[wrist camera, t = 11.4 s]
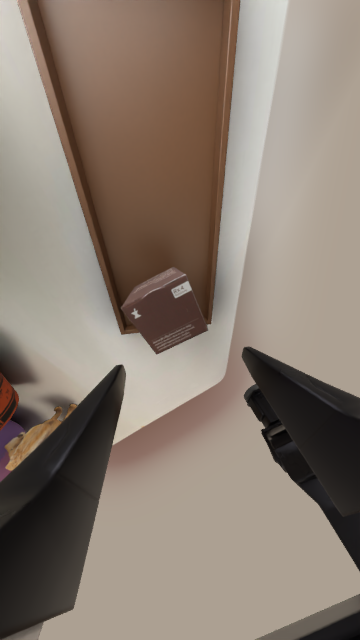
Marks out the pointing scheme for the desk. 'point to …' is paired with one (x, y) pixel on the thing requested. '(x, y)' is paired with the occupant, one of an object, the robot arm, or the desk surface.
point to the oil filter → (7, 401)
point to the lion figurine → (32, 438)
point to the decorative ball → (4, 437)
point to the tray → (142, 129)
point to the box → (165, 310)
